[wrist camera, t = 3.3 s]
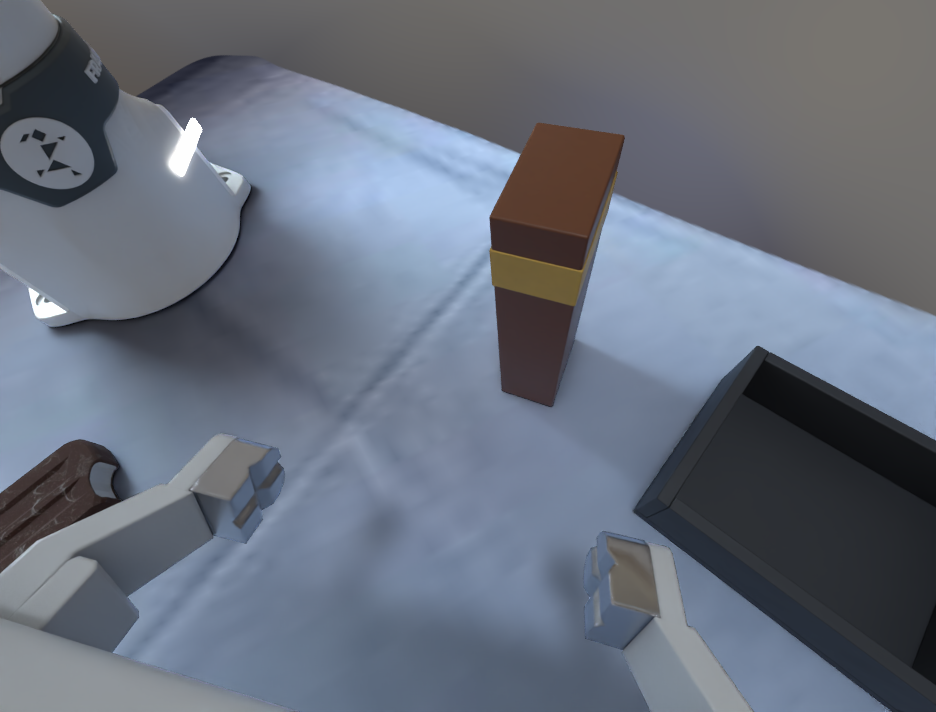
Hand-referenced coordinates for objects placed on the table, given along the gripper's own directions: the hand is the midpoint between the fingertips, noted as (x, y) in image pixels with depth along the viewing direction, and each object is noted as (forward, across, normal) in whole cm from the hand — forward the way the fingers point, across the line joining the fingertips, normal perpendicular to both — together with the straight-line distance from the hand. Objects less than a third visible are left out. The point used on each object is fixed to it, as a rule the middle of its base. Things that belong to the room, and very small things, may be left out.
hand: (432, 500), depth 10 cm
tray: (+9, -17, +8) cm, 20 cm away
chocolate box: (+15, -3, +6) cm, 17 cm away
